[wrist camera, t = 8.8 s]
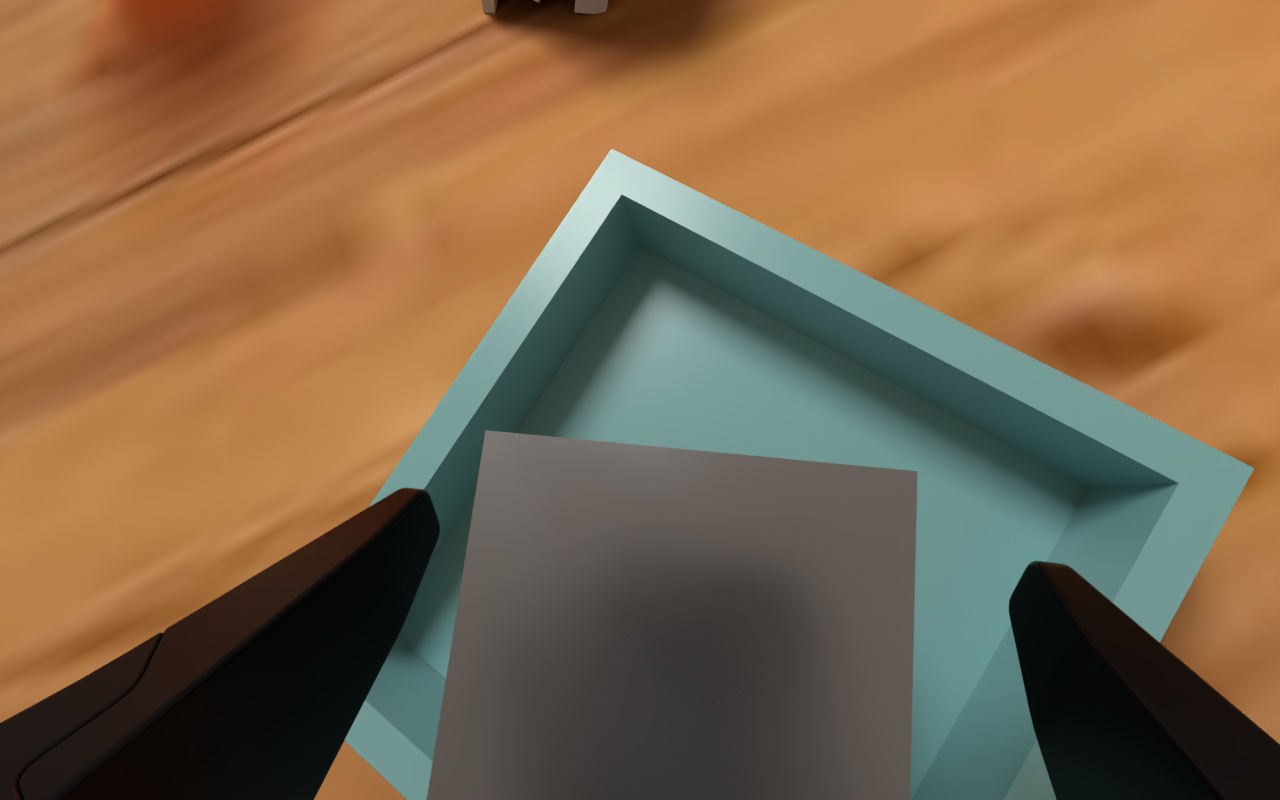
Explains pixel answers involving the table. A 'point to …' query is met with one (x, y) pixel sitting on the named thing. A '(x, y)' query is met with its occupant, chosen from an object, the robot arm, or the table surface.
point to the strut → (679, 628)
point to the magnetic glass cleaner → (591, 3)
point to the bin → (811, 453)
